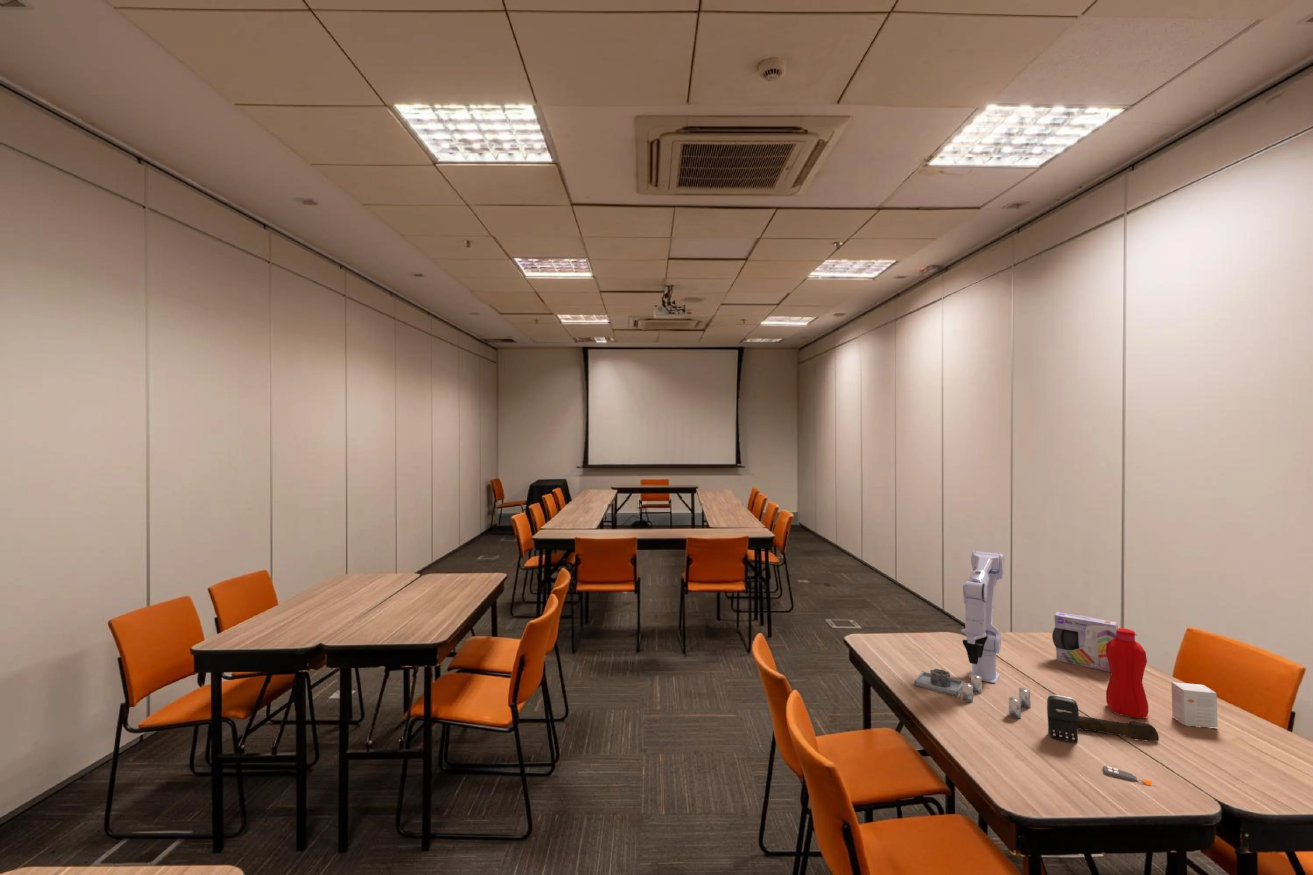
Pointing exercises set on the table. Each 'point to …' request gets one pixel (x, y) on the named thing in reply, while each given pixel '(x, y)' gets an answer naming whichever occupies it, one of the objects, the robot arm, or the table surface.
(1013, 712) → the cylinder
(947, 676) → the nut
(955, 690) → the tray
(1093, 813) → the table surface
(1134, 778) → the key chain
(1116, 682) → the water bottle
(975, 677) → the cylinder
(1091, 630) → the cake pan box
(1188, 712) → the small box
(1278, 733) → the table surface
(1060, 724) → the battery charger
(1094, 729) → the dark brown bar
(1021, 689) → the cylinder
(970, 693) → the cylinder
